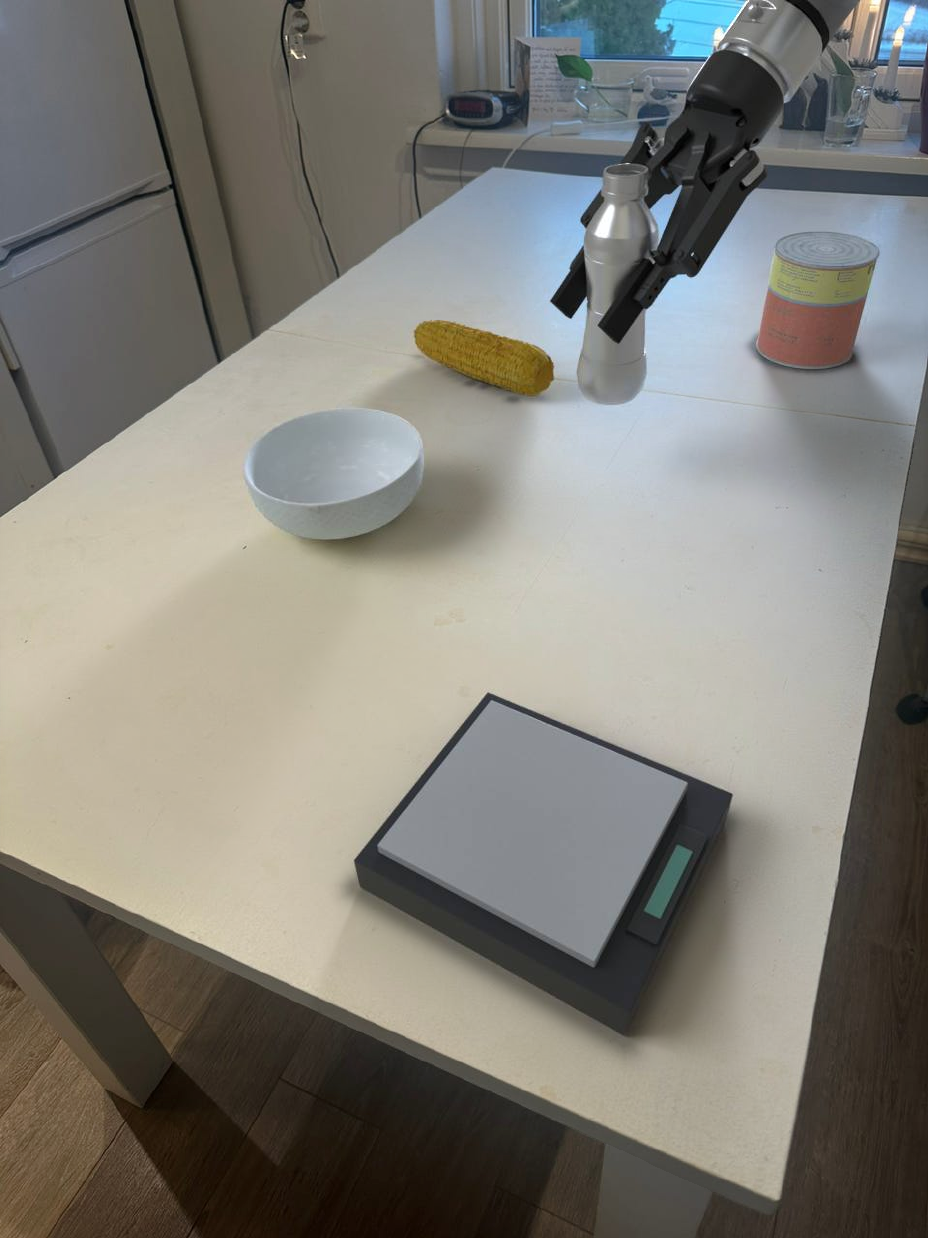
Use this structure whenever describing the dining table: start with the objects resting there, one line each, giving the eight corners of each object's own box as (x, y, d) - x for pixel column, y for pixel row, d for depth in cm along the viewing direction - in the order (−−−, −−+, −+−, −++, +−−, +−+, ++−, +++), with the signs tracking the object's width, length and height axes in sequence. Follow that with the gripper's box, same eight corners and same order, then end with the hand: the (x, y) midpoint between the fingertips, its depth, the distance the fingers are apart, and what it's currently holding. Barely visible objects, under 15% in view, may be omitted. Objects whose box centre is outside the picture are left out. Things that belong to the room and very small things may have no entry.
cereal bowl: (310, 456, 94) (298, 395, 89) (454, 481, 89) (450, 419, 84) (223, 547, 82) (204, 484, 77) (383, 582, 77) (374, 516, 72)
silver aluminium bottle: (562, 403, 83) (569, 175, 70) (596, 375, 87) (609, 155, 74) (624, 420, 80) (643, 185, 67) (656, 390, 84) (680, 163, 71)
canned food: (872, 360, 104) (901, 257, 96) (787, 375, 102) (810, 272, 94) (818, 323, 112) (840, 225, 104) (738, 337, 110) (755, 239, 102)
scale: (725, 821, 57) (735, 785, 55) (625, 1037, 47) (631, 1005, 45) (489, 719, 65) (487, 683, 62) (359, 887, 55) (351, 853, 52)
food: (560, 391, 102) (561, 342, 98) (529, 410, 99) (530, 361, 95) (430, 344, 113) (426, 299, 109) (399, 360, 110) (394, 314, 106)
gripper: (650, 31, 75) (497, 268, 80) (827, 59, 63) (634, 337, 68) (689, 92, 81) (543, 310, 86) (858, 128, 68) (677, 381, 73)
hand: (583, 321), depth 77 cm, fingers closed on silver aluminium bottle, 6 cm apart
